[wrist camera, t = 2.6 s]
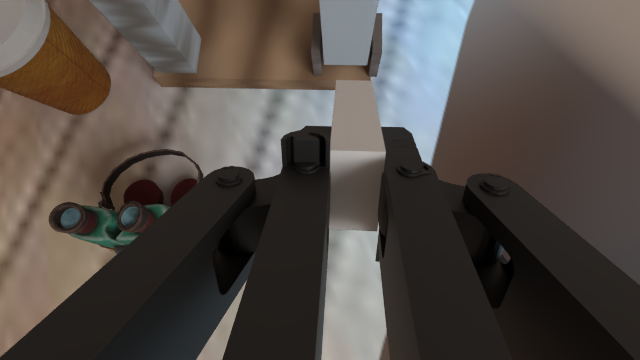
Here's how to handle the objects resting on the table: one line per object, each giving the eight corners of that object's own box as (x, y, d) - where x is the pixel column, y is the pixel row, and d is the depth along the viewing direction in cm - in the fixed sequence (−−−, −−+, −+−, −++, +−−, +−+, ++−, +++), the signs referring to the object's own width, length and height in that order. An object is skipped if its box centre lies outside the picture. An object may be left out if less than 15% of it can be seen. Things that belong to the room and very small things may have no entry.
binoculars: (172, 115, 26) (153, 250, 23) (217, 165, 36) (209, 264, 33) (56, 118, 26) (21, 252, 23) (132, 167, 36) (116, 266, 33)
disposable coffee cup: (22, 95, 38) (-118, 22, 26) (85, 33, 39) (-20, -62, 28) (79, 146, 36) (-42, 93, 25) (143, 80, 38) (57, 0, 26)
